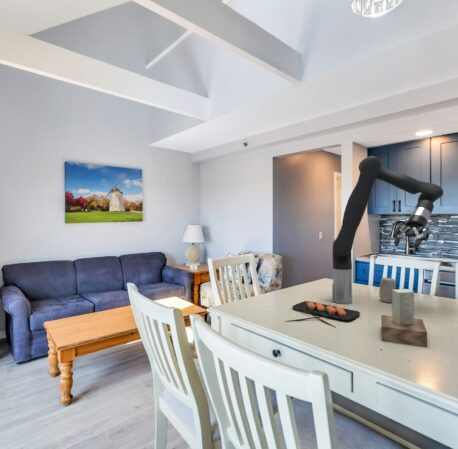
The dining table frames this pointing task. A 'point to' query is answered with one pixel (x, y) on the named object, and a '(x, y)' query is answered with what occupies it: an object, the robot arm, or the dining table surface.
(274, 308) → the dining table surface
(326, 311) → the sushi plate
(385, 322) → the block
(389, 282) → the carving
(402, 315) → the skincare box
